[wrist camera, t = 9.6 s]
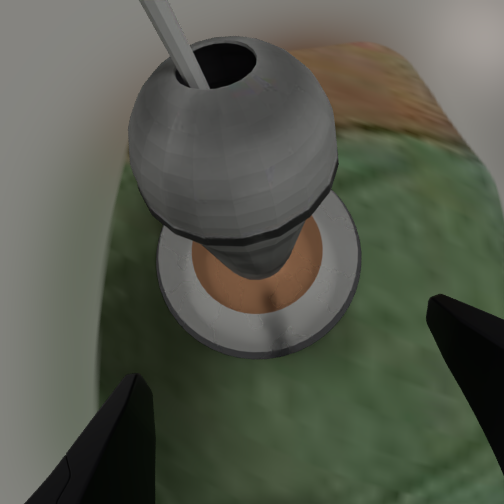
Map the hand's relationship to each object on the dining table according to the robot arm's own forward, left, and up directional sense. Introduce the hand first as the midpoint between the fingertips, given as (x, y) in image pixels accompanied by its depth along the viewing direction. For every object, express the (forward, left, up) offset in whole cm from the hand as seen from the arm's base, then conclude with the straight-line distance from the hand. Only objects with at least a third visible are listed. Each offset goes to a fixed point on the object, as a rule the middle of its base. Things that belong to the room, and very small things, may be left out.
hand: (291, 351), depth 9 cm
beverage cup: (+6, +3, -12) cm, 14 cm away
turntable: (+6, +3, -13) cm, 15 cm away
